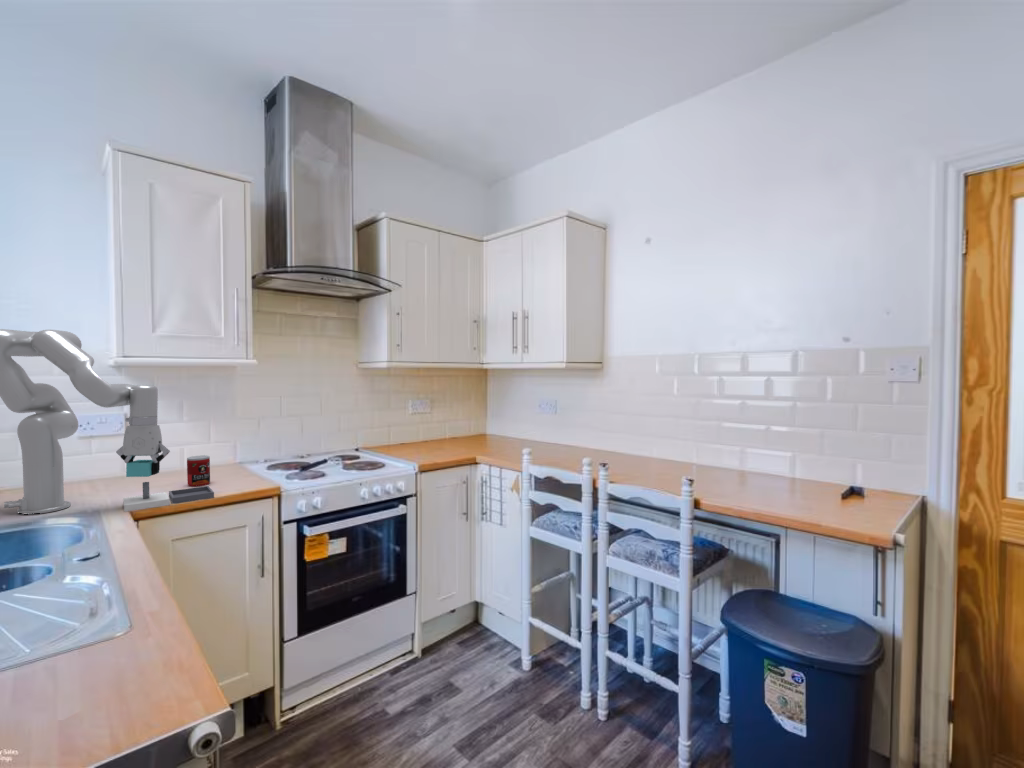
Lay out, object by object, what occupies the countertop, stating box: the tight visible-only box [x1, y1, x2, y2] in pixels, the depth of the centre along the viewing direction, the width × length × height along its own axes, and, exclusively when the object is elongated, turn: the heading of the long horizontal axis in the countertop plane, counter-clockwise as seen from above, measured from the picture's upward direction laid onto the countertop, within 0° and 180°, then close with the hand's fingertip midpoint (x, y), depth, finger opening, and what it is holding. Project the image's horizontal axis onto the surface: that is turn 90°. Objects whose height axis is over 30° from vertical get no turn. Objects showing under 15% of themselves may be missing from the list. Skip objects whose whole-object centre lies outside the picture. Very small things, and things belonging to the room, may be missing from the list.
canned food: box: [186, 454, 211, 488], centre depth 194 cm, size 8×8×11 cm
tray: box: [168, 485, 215, 505], centre depth 175 cm, size 12×12×2 cm
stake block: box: [122, 481, 171, 512], centre depth 166 cm, size 12×12×8 cm
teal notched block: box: [125, 459, 160, 478], centre depth 165 cm, size 7×7×4 cm
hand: (143, 473), depth 165 cm, fingers closed on teal notched block, 6 cm apart
